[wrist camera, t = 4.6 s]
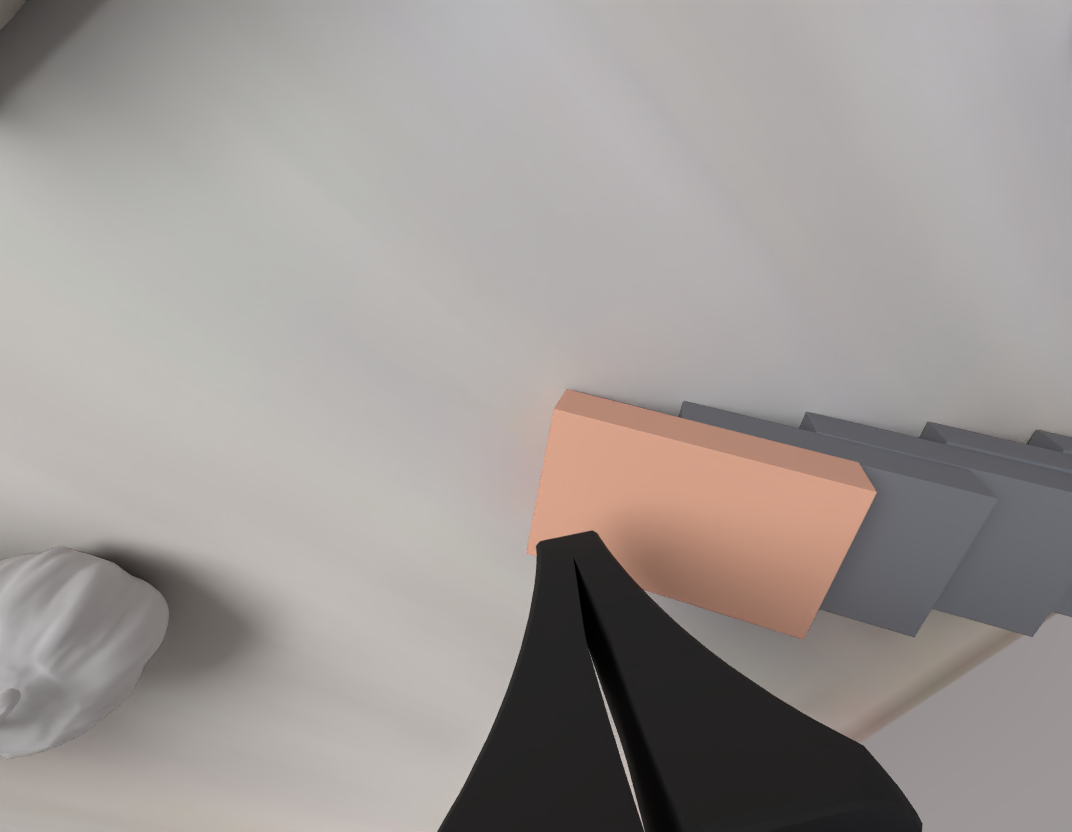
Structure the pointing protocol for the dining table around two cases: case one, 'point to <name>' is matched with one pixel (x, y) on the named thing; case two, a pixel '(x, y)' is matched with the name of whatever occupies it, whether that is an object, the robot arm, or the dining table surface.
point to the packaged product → (9, 10)
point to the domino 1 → (701, 509)
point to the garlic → (69, 644)
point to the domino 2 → (887, 524)
